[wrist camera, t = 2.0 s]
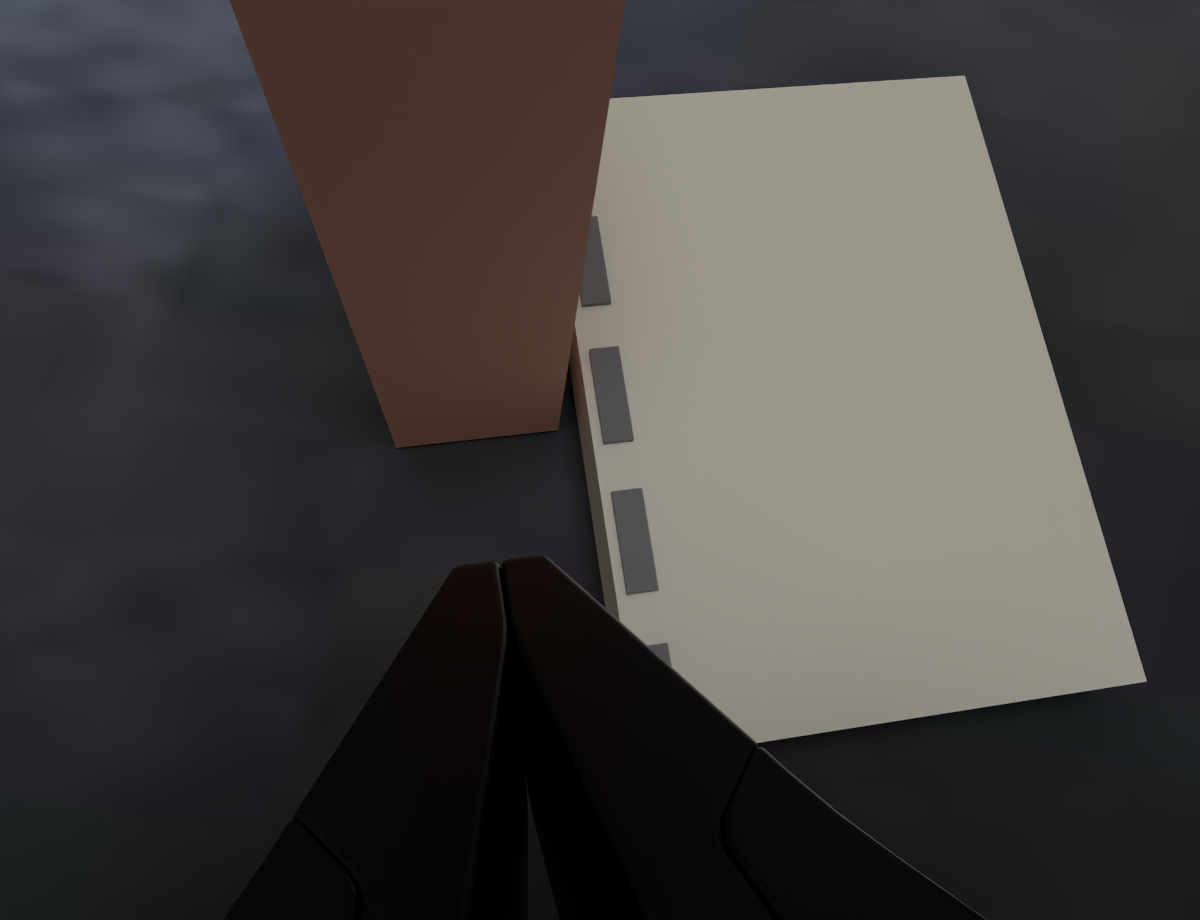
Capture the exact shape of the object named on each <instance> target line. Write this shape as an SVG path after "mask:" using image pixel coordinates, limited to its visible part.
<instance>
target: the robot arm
mask: <svg viewBox="0 0 1200 920" xmlns="http://www.w3.org/2000/svg"><path fill="white" fill-rule="evenodd" d="M501 571H502V573H501ZM523 759H524V761H523ZM524 767H525V771H524ZM525 775H526V781H525ZM526 782H527V788H528V794H529V800H530V805H531V809H532V814H533V818H534V823H535V827H536V831H537V835H538V838H539V842H540V846H541V850H542V854H543V857H544V861H545V865H546V869H547V873H548V876H549V880H550V884H551V888H552V892H553V895H554V899H555V903H556V907H557V911H558V914H559V918H560V920H987V919H986V918H984V917H983V916H981V915H980V914H979V913H977V912H976V911H974V910H973V909H971V908H970V907H969V906H967V905H966V904H964V903H963V902H962V901H960V900H959V899H957V898H956V897H954V896H953V895H952V894H950V893H949V892H947V891H946V890H944V889H943V888H942V887H940V886H939V885H937V884H936V883H935V882H933V881H932V880H930V879H929V878H927V877H926V876H925V875H923V874H922V873H920V872H919V871H918V870H916V869H915V868H913V867H912V866H910V865H909V864H908V863H906V862H905V861H903V860H902V859H901V858H899V857H898V856H897V855H895V854H894V853H892V852H891V851H890V850H888V849H887V848H886V847H884V846H883V845H882V844H880V843H879V842H878V841H876V840H875V839H874V838H872V837H871V836H870V835H868V834H867V833H866V832H864V831H863V830H862V829H860V828H859V827H858V826H856V825H855V824H853V823H852V822H851V821H849V820H848V819H847V818H845V817H844V816H843V815H841V814H840V813H839V812H838V811H837V810H835V809H834V808H833V807H832V806H831V805H829V804H828V803H827V802H826V801H825V800H823V799H822V798H821V797H820V796H819V795H817V794H816V793H815V792H814V791H813V790H811V789H810V788H809V787H808V786H807V785H805V784H804V783H803V782H802V781H801V780H799V779H798V778H797V777H796V776H795V775H793V774H792V773H791V772H790V771H789V770H788V769H786V768H785V767H784V766H783V765H782V764H781V763H780V762H779V761H777V760H776V759H775V758H774V757H773V756H772V755H771V754H770V753H768V752H767V751H766V750H765V749H764V748H761V747H759V748H757V743H756V742H755V741H754V740H753V739H752V738H751V737H750V736H749V735H748V734H747V733H745V732H744V731H743V730H742V729H741V728H740V727H739V726H738V725H736V724H735V723H734V722H733V721H732V720H731V719H730V718H729V717H727V716H726V715H725V714H724V713H723V712H722V711H721V710H719V709H718V708H717V707H716V706H715V705H714V704H713V703H712V702H710V701H709V700H708V699H707V698H706V697H705V696H704V695H703V694H701V693H700V692H699V691H698V690H697V689H696V688H695V687H694V686H692V685H691V684H690V683H689V682H688V681H687V680H686V679H685V678H683V677H682V676H681V675H680V674H679V673H678V672H677V671H676V670H674V669H673V668H672V667H671V666H670V665H669V664H668V663H667V662H665V661H664V660H663V659H662V658H661V657H660V656H659V655H658V654H656V653H655V652H654V651H653V650H652V649H651V648H650V647H649V646H647V645H646V644H645V643H644V642H643V641H642V640H641V639H639V638H638V637H637V636H636V635H635V634H634V633H633V632H632V631H630V630H629V629H628V628H627V627H626V626H625V625H624V624H623V623H621V622H620V621H619V620H618V619H617V618H616V617H615V616H614V615H612V614H611V613H610V612H609V611H608V610H607V609H606V608H605V607H603V606H602V605H601V604H600V603H599V602H598V601H597V600H596V599H594V598H593V597H592V596H591V595H590V594H589V593H588V592H587V591H585V590H584V589H583V588H582V587H581V586H580V585H579V584H578V583H576V582H575V581H574V580H573V579H572V578H571V577H570V576H569V575H567V574H566V573H565V572H564V571H563V570H562V569H561V568H559V567H558V566H557V565H556V564H555V563H554V562H553V561H552V560H550V559H549V558H548V557H546V556H543V555H538V556H530V557H522V558H515V559H508V560H506V561H505V562H503V564H502V566H501V568H500V566H499V564H498V563H496V562H483V563H475V564H467V565H460V566H457V567H455V568H454V569H453V570H452V571H451V573H450V574H449V576H448V577H447V579H446V580H445V582H444V583H443V585H442V586H441V588H440V590H439V591H438V593H437V594H436V596H435V597H434V599H433V600H432V602H431V604H430V605H429V607H428V608H427V610H426V611H425V613H424V614H423V616H422V618H421V619H420V621H419V622H418V624H417V625H416V627H415V628H414V630H413V631H412V633H411V635H410V636H409V638H408V639H407V641H406V642H405V644H404V645H403V647H402V649H401V650H400V652H399V653H398V655H397V656H396V658H395V659H394V661H393V662H392V664H391V666H390V667H389V669H388V670H387V672H386V673H385V675H384V676H383V678H382V680H381V681H380V683H379V684H378V686H377V687H376V689H375V690H374V692H373V693H372V695H371V697H370V698H369V700H368V701H367V703H366V704H365V706H364V707H363V709H362V711H361V712H360V714H359V715H358V717H357V718H356V720H355V721H354V723H353V725H352V726H351V728H350V729H349V731H348V732H347V734H346V735H345V737H344V738H343V740H342V742H341V743H340V745H339V746H338V748H337V749H336V751H335V752H334V754H333V756H332V757H331V759H330V760H329V762H328V763H327V765H326V766H325V768H324V769H323V771H322V773H321V774H320V776H319V777H318V779H317V780H316V782H315V783H314V785H313V787H312V788H311V790H310V791H309V793H308V794H307V796H306V797H305V799H304V800H303V802H302V804H301V805H300V807H299V808H298V810H297V811H296V813H295V814H294V821H292V822H290V823H288V824H287V826H286V827H285V829H284V830H283V832H282V834H281V835H280V837H279V838H278V840H277V842H276V843H275V845H274V846H273V848H272V849H271V851H270V852H269V854H268V855H267V857H266V859H265V860H264V862H263V863H262V864H261V866H260V867H259V869H258V870H257V872H256V873H255V875H254V876H253V877H252V879H251V880H250V882H249V883H248V885H247V886H246V888H245V889H244V891H243V892H242V893H241V895H240V896H239V898H238V899H237V901H236V902H235V904H234V905H233V907H232V908H231V909H230V911H229V912H228V914H227V915H226V917H225V918H224V919H223V920H527V912H528V804H527V792H526Z"/></svg>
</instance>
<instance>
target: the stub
mask: <svg viewBox="0 0 1200 920" xmlns="http://www.w3.org/2000/svg"><path fill="white" fill-rule="evenodd" d="M230 2H231V5H232V8H233V10H234V13H235V16H236V18H237V21H238V24H239V26H240V29H241V32H242V35H243V37H244V40H245V43H246V45H247V48H248V51H249V53H250V56H251V59H252V61H253V64H254V67H255V70H256V72H257V75H258V78H259V80H260V83H261V86H262V88H263V91H264V94H265V96H266V99H267V102H268V105H269V107H270V110H271V113H272V115H273V118H274V121H275V123H276V126H277V129H278V131H279V134H280V137H281V140H282V142H283V145H284V148H285V150H286V153H287V156H288V158H289V161H290V164H291V166H292V169H293V172H294V174H295V177H296V180H297V183H298V185H299V188H300V191H301V193H302V196H303V199H304V201H305V204H306V207H307V209H308V212H309V215H310V218H311V220H312V223H313V226H314V228H315V231H316V234H317V236H318V239H319V242H320V244H321V247H322V250H323V253H324V255H325V258H326V261H327V263H328V266H329V269H330V271H331V274H332V277H333V279H334V282H335V285H336V288H337V290H338V293H339V296H340V298H341V301H342V304H343V306H344V309H345V312H346V314H347V317H348V320H349V323H350V325H351V328H352V331H353V333H354V336H355V339H356V341H357V344H358V347H359V349H360V352H361V355H362V358H363V360H364V363H365V366H366V368H367V371H368V374H369V376H370V379H371V382H372V384H373V387H374V390H375V392H376V395H377V398H378V401H379V403H380V406H381V409H382V411H383V414H384V417H385V419H386V422H387V425H388V427H389V430H390V433H391V436H392V438H393V441H394V444H395V446H396V448H400V447H409V446H418V445H427V444H436V443H445V442H454V441H463V440H472V439H481V438H491V437H500V436H509V435H518V434H527V433H536V432H545V431H554V430H558V427H559V421H560V414H561V408H562V402H563V395H564V389H565V382H566V376H567V370H568V363H569V357H570V351H571V344H572V338H573V331H574V325H575V319H576V312H577V306H578V299H579V293H580V287H581V280H582V274H583V268H584V261H585V255H586V248H587V242H588V236H589V229H590V223H591V216H592V210H593V204H594V197H595V191H596V184H597V178H598V172H599V165H600V159H601V153H602V146H603V140H604V133H605V127H606V121H607V114H608V108H609V101H610V95H611V89H612V82H613V76H614V70H615V63H616V57H617V50H618V44H619V38H620V31H621V25H622V18H623V12H624V6H625V0H230Z"/></svg>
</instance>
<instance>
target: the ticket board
mask: <svg viewBox="0 0 1200 920" xmlns="http://www.w3.org/2000/svg"><path fill="white" fill-rule="evenodd" d="M569 366H570V373H571V380H572V387H573V393H574V400H575V407H576V414H577V420H578V427H579V434H580V441H581V447H582V454H583V461H584V468H585V474H586V481H587V488H588V495H589V501H590V508H591V515H592V522H593V528H594V535H595V542H596V549H597V555H598V562H599V569H600V575H601V582H602V589H603V596H604V602H605V608H606V609H607V610H608V611H609V612H610V613H611V614H612V615H614V616H615V617H616V618H617V619H618V620H619V621H620V622H621V623H623V624H624V625H625V626H626V627H627V628H628V629H629V630H630V631H632V632H633V633H634V634H635V635H636V636H637V637H638V638H639V639H641V640H642V641H643V642H644V643H645V644H646V645H647V646H649V647H650V648H651V649H652V650H653V651H654V652H655V653H656V654H658V655H659V656H660V657H661V658H662V659H663V660H664V661H665V662H667V663H668V664H669V665H670V666H671V667H672V668H673V669H674V670H676V671H677V672H678V673H679V674H680V675H681V676H682V677H683V678H685V679H686V680H687V681H688V682H689V683H690V684H691V685H692V686H694V687H695V688H696V689H697V690H698V691H699V692H700V693H701V694H703V695H704V696H705V697H706V698H707V699H708V700H709V701H710V702H712V703H713V704H714V705H715V706H716V707H717V708H718V709H719V710H721V711H722V712H723V713H724V714H725V715H726V716H727V717H729V718H730V719H731V720H732V721H733V722H734V723H735V724H736V725H738V726H739V727H740V728H741V729H742V730H743V731H744V732H745V733H747V734H748V735H749V736H750V737H751V738H752V739H753V740H754V741H755V742H756V743H760V742H766V741H773V740H779V739H785V738H792V737H798V736H804V735H811V734H817V733H823V732H830V731H836V730H842V729H849V728H855V727H861V726H868V725H874V724H880V723H887V722H893V721H899V720H906V719H912V718H918V717H925V716H931V715H937V714H944V713H950V712H956V711H963V710H969V709H975V708H982V707H988V706H994V705H1001V704H1007V703H1013V702H1020V701H1026V700H1032V699H1039V698H1045V697H1051V696H1058V695H1064V694H1070V693H1077V692H1083V691H1089V690H1096V689H1102V688H1108V687H1115V686H1121V685H1127V684H1134V683H1140V682H1146V677H1145V674H1144V671H1143V667H1142V664H1141V661H1140V657H1139V654H1138V651H1137V647H1136V644H1135V641H1134V637H1133V634H1132V631H1131V627H1130V624H1129V621H1128V617H1127V614H1126V611H1125V607H1124V604H1123V601H1122V597H1121V594H1120V591H1119V587H1118V584H1117V581H1116V577H1115V574H1114V571H1113V567H1112V564H1111V561H1110V557H1109V554H1108V551H1107V547H1106V544H1105V541H1104V537H1103V534H1102V531H1101V528H1100V524H1099V521H1098V518H1097V514H1096V511H1095V508H1094V504H1093V501H1092V498H1091V494H1090V491H1089V488H1088V484H1087V481H1086V478H1085V474H1084V471H1083V468H1082V464H1081V461H1080V458H1079V454H1078V451H1077V448H1076V444H1075V441H1074V438H1073V434H1072V431H1071V428H1070V424H1069V421H1068V418H1067V414H1066V411H1065V408H1064V404H1063V401H1062V398H1061V394H1060V391H1059V388H1058V384H1057V381H1056V378H1055V374H1054V371H1053V368H1052V364H1051V361H1050V358H1049V354H1048V351H1047V348H1046V344H1045V341H1044V338H1043V335H1042V331H1041V328H1040V325H1039V321H1038V318H1037V315H1036V311H1035V308H1034V305H1033V301H1032V298H1031V295H1030V291H1029V288H1028V285H1027V281H1026V278H1025V275H1024V271H1023V268H1022V265H1021V261H1020V258H1019V255H1018V251H1017V248H1016V245H1015V241H1014V238H1013V235H1012V231H1011V228H1010V225H1009V221H1008V218H1007V215H1006V211H1005V208H1004V205H1003V201H1002V198H1001V195H1000V191H999V188H998V185H997V181H996V178H995V175H994V171H993V168H992V165H991V161H990V158H989V155H988V152H987V148H986V145H985V142H984V138H983V135H982V132H981V128H980V125H979V122H978V118H977V115H976V112H975V108H974V105H973V102H972V98H971V95H970V92H969V88H968V85H967V82H966V78H965V76H953V77H938V78H922V79H907V80H891V81H876V82H860V83H845V84H829V85H814V86H798V87H783V88H767V89H752V90H736V91H721V92H705V93H690V94H674V95H659V96H643V97H628V98H612V99H610V101H609V108H608V114H607V121H606V127H605V133H604V140H603V146H602V153H601V159H600V165H599V172H598V178H597V184H596V191H595V197H594V204H593V210H592V216H591V223H590V229H589V236H588V242H587V248H586V255H585V261H584V268H583V274H582V280H581V287H580V293H579V299H578V306H577V312H576V319H575V325H574V331H573V338H572V344H571V351H570V357H569Z"/></svg>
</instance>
